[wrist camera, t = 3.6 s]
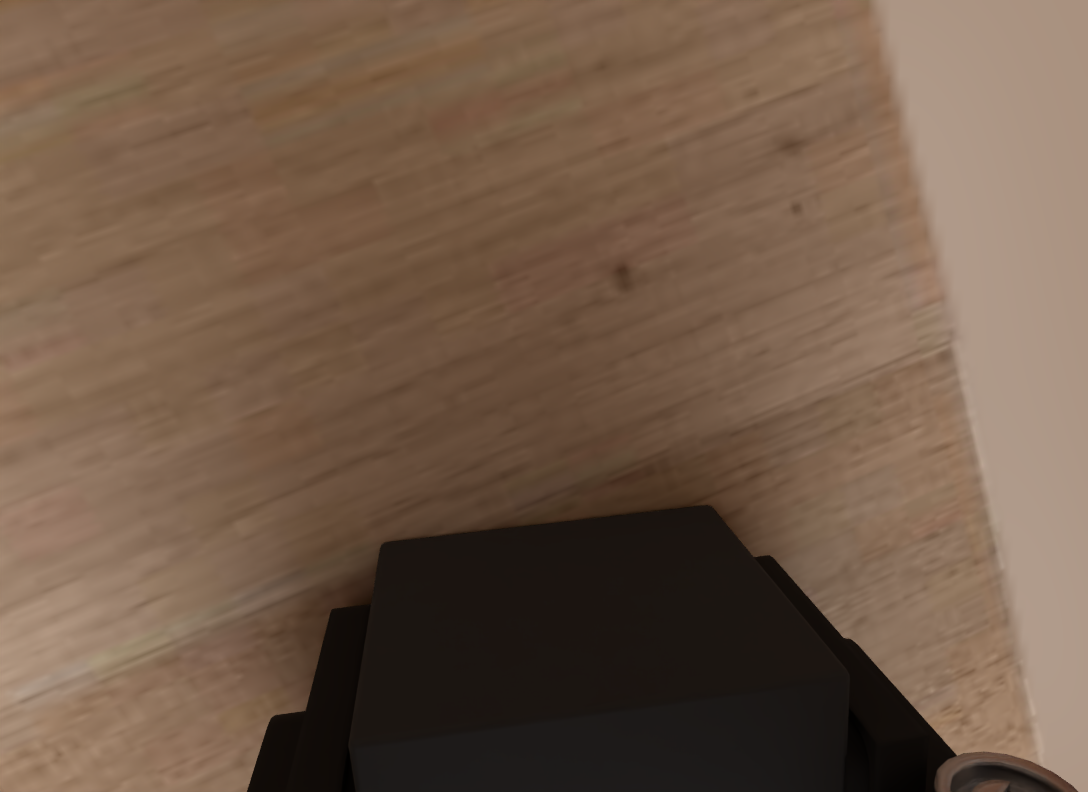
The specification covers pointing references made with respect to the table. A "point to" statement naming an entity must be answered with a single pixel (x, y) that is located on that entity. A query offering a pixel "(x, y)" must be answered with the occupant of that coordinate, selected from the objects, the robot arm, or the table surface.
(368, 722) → the pad block
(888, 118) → the table surface
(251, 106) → the table surface
